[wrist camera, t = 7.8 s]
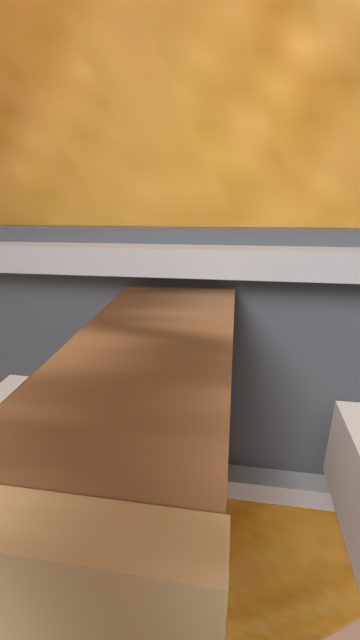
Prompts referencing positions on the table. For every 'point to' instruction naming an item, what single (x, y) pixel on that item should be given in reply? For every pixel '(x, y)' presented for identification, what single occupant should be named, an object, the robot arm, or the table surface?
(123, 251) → the track
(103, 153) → the table surface
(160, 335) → the tan rectangular block
